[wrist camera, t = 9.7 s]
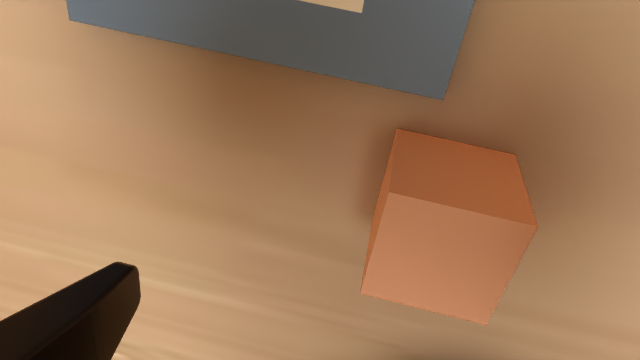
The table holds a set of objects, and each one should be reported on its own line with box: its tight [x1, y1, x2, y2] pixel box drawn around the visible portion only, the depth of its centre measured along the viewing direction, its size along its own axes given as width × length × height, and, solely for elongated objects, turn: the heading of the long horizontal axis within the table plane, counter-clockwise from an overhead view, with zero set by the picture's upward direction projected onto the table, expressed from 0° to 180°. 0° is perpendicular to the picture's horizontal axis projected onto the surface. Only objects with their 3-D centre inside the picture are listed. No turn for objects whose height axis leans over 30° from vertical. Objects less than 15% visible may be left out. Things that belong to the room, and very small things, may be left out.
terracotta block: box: [360, 129, 538, 325], centre depth 17 cm, size 4×4×4 cm
